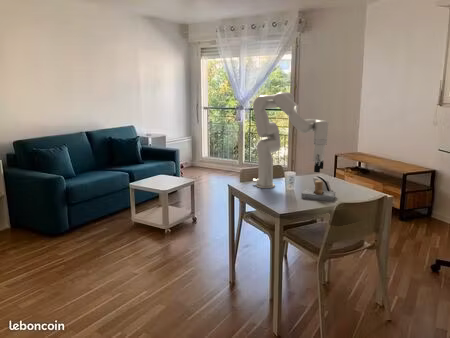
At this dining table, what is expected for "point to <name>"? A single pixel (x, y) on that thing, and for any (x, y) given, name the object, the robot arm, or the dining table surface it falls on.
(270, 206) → the dining table surface
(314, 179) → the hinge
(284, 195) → the dining table surface
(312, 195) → the flat grey box
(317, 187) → the peg
